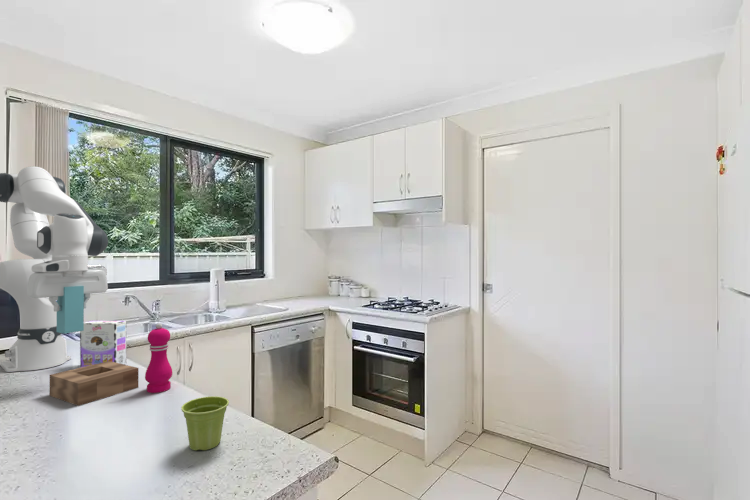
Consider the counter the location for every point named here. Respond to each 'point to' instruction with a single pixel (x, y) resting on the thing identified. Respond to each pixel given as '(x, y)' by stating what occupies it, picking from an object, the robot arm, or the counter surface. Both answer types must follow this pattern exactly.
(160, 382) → the pepper mill
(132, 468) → the counter surface
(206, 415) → the plant pot
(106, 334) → the candy box
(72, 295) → the teal rectangular block
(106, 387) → the wooden holder
